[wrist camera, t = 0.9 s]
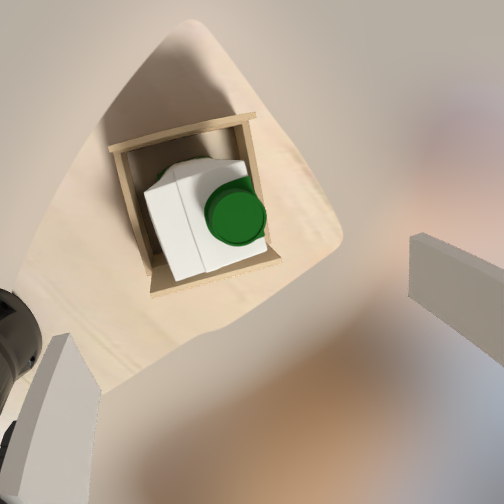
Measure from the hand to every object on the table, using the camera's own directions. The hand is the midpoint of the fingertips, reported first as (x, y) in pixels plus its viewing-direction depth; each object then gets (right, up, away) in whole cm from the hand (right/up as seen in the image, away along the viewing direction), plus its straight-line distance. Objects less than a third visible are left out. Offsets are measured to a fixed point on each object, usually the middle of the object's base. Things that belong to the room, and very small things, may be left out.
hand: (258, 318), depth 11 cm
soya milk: (-8, +10, +30) cm, 33 cm away
